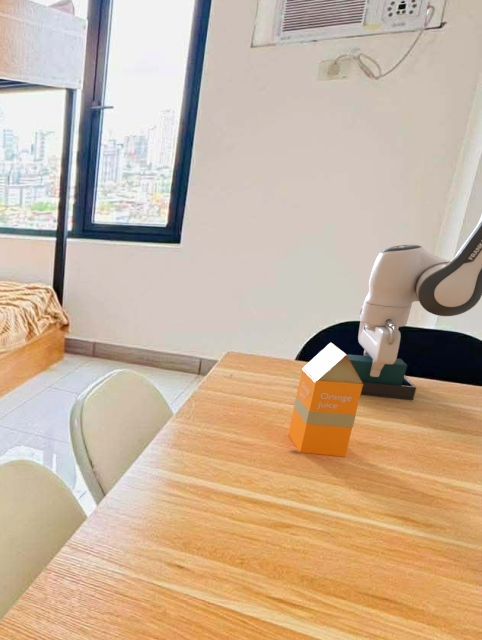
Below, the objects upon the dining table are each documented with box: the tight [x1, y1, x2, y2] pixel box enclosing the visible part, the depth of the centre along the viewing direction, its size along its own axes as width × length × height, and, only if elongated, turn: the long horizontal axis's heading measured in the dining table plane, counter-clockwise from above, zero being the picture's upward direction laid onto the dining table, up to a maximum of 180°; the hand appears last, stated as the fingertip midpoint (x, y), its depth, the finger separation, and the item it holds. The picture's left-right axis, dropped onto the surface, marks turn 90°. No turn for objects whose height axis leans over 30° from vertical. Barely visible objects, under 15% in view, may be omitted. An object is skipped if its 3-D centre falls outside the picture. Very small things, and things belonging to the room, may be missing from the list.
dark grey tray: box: [360, 374, 417, 401], centre depth 152 cm, size 16×10×3 cm, turn 65°
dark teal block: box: [345, 353, 408, 385], centre depth 151 cm, size 12×6×5 cm, turn 65°
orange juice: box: [287, 342, 363, 458], centre depth 120 cm, size 8×9×20 cm
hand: (370, 371), depth 151 cm, fingers closed on dark teal block, 5 cm apart
